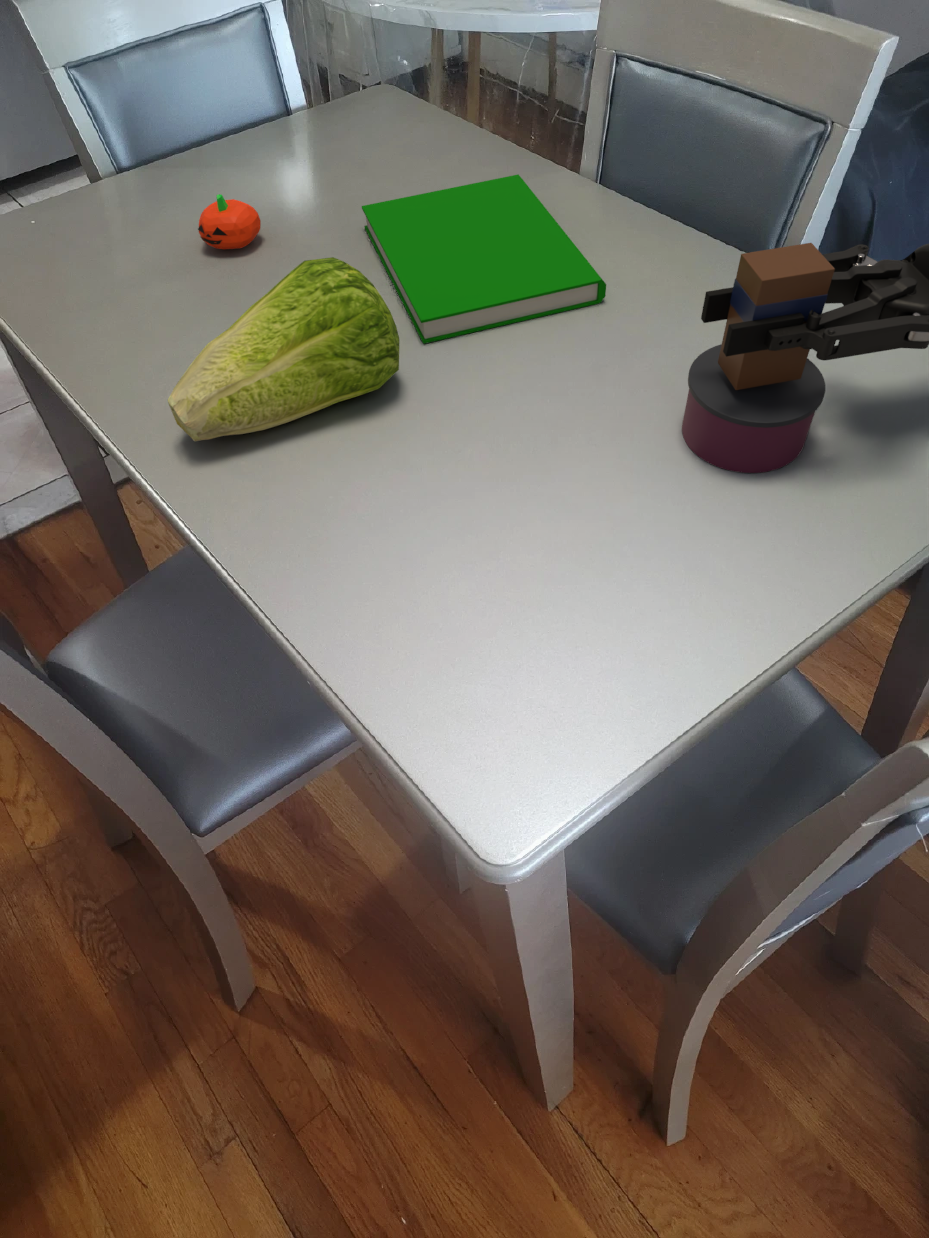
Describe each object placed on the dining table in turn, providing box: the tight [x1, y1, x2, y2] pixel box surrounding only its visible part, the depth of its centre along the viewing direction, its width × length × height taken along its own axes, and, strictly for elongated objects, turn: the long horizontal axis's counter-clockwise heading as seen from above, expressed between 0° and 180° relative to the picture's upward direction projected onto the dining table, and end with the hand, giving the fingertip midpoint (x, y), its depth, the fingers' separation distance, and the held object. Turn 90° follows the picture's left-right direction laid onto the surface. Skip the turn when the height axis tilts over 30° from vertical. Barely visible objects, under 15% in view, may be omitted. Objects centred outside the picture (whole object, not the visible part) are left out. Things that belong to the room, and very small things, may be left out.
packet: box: [718, 242, 835, 390], centre depth 77 cm, size 6×4×11 cm
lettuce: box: [167, 256, 400, 442], centre depth 89 cm, size 14×24×14 cm
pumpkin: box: [197, 193, 262, 250], centre depth 112 cm, size 7×8×6 cm
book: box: [361, 174, 607, 344], centre depth 108 cm, size 22×28×3 cm
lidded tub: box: [681, 343, 826, 474], centre depth 85 cm, size 13×13×6 cm
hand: (716, 323), depth 76 cm, fingers closed on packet, 4 cm apart
